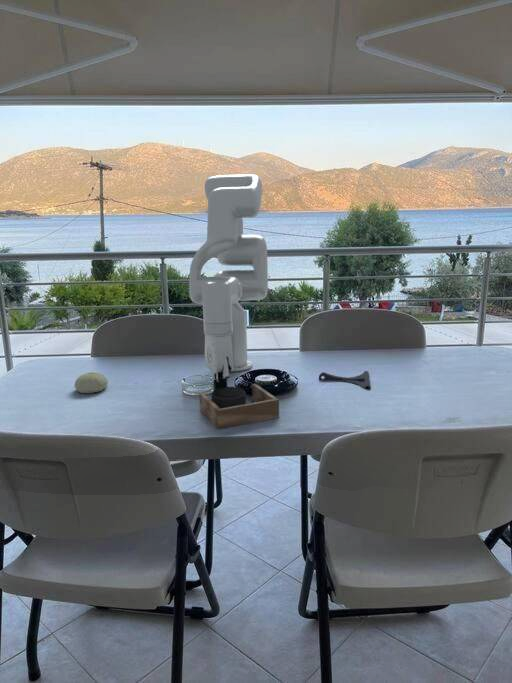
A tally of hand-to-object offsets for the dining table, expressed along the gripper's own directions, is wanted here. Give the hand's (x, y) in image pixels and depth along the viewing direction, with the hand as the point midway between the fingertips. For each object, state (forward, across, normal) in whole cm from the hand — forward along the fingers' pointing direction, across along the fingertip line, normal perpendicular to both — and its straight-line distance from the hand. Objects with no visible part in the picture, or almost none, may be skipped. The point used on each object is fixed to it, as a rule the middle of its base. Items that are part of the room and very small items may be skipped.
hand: (220, 394), depth 131 cm
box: (+1, +12, 0) cm, 12 cm away
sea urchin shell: (+2, -24, -31) cm, 39 cm away
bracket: (+2, +2, +38) cm, 38 cm away
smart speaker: (+1, +6, 0) cm, 7 cm away
